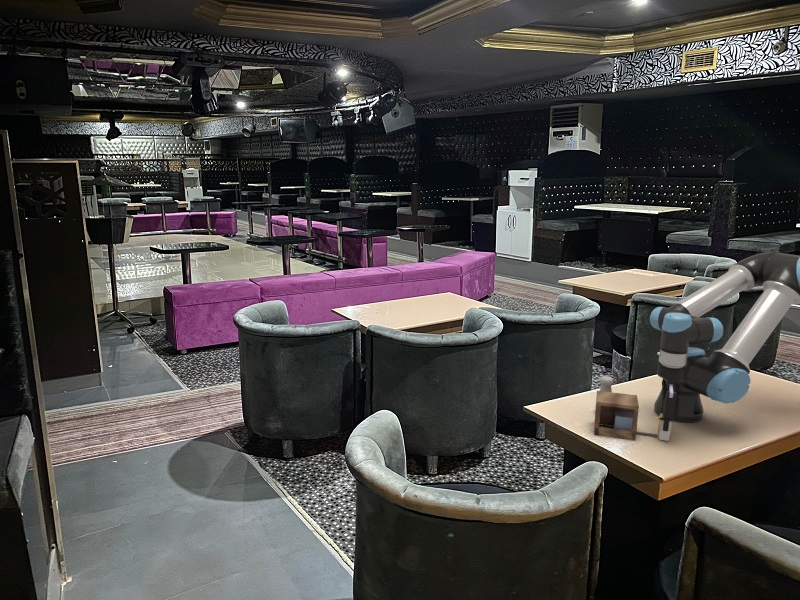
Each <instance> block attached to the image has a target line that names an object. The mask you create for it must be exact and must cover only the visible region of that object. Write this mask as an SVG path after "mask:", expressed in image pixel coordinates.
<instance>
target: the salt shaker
mask: <svg viewBox="0 0 800 600" xmlns="http://www.w3.org/2000/svg"><path fill="white" fill-rule="evenodd" d="M599 384H601V385H600V389H599V391H604V392H613V390H612V389H613V388H612V385H614V378H613V377H611V376H608V375H602V376H601V377H599ZM594 408H596V405H595V406H594Z"/></svg>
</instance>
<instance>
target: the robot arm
mask: <svg viewBox="0 0 800 600" xmlns="http://www.w3.org/2000/svg"><path fill="white" fill-rule="evenodd" d="M756 287H757V288H758V287H762V288H763V292H762V293H761V294H760V296H759V297H758V298H757V300H756V301H755V302H754V304H753V305H752V307H751V308H750V309H749V311H748V313H747V314H746V315H745V317H744V318H743V319H742V321H741V322H740V323H739V325H737V327H736V329H735V331H734V332H733V333H732V335H731V336H730V337H729V338H728V340H727V342H726V343H725V344H724V346H722V348H721V349H716V350H714V351H713V352H712V353H711V355H710V356H709V357H706V352H705V350H704V349H702V348H699V347H694V346H693V347H692V346H691V347H690V346H689V345H697V344H710V343H713V342H718V341H720V339H722V337H723V335H724V326H723V323H722V322H721V321H720V320H719V319H718V318H716V317H709V316H707V317H702V316H703V315H705V314H707V313H708V312H710V311H712V310H713V309H715V308H716V307H718V306H720V305H722V304H723V303H725V302H727V301H728V300H729V299H731V298H733V297H735V296H736V295H737V294H739V293H741V292H743V291H745V292H746V291H750V290H752V289H754V288H756ZM797 304H800V255H799V254H798V255H796V254H790V253H782V252H778V251H776V252H775V251H765V252H760V253H757V254H754V255H751V256H748V257H746V258H744V259H742V260H739V261H738V262H736V263H735V264H733V265H731V266H729V268H728V270H727V272H725V273H724V274H722V275H721V276H719V277H717V278H716V279H714V280H712V281H710V282H708V284H706V285H704V286H702V287H701V288H699V289H697V290H696V291H694V292H692V293H691V294H689V295H687V296H686V297H684V298H682V299H681V300H680V301H678V302H676V303H674V304H673V305H671V306H670V307H666V306H657V307H655V308H654V309H652V311H651V313H650V316H649V322H650V325H651V327H652V328H654V329H655V330H658V331H660V332H661V337H660V338H661V339H660V347H659V351H658V352H657V356H659V357H658V362H659V363H658V364H657V370H656V372H657V373H656V374H657V376H658V377H659V378H662V381H661V390H660V392H659V395H658V396H657V399H655V401H654V408H653V411H654V413H655V414H656V415H658V416H660V415H661V414H663V415H662V418H659V419H658V421H659V420H661V425H660V433H659V438H658V440H661V441H667V442H669V441H670V440H669V434H670V426H671V422H672V423H673V421H675V422H678V423H679V422H681V423H697V422H699V421H700V422H701V421H702V420H703V418H704V408H703V403H702V399H701V396H700V395H702V396H704V397H707V398H709V399H711V401H715V402H719V403H722V404H733V403H736V402H738V401H740V400H741V399H742V398H744V397H745V395H746V394H747V393H748V392H749V389H750V385H751V382H752V381H751V376H750V373H751V368H750V364H751V362H752V361H753V359H754V358H755V357H756V355H757V354H758V352H759V351H760V349H761V348H762V347H763V345H764V344H765V343H766V341H767V340H768V339H769V337H770V336H771V334H772V333H773V332H774V330H775V328H777V326H778V325H779V323H780V321H781V320H782V319H783V317H784V316H785V314H786V313H787V312H788V311H789V309H790V307H792V305H797ZM671 427H672V426H671ZM670 435H671V434H670Z"/></svg>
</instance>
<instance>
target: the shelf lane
mask: <svg viewBox="0 0 800 600" xmlns="http://www.w3.org/2000/svg"><path fill="white" fill-rule="evenodd" d="M595 399H596V401H595V406H596V407H595V410H594V412H595V413H594V421H593V422H594V427H593V428H594V432H593V433H594V436H597V437H598V436H599V437H605V438H613V439H620V440H627V441H628V440H629V441H636V440H637V435H636V431H637V430H638V429H637V428H638V420H639V409H640V407H639V406H640V405H639V401H638V395H637V394H629V393H620V392H613V391H612V392H604V391H600V390H597V391H596V397H595ZM615 410H617V411H625V412H632V416H633V421H632V431H629V430H622V429H614V419H615ZM604 426H605V427H604ZM606 426H607V427H606ZM612 427H613V428H612ZM637 432H638V431H637Z"/></svg>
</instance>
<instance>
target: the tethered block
mask: <svg viewBox="0 0 800 600" xmlns="http://www.w3.org/2000/svg"><path fill="white" fill-rule="evenodd" d="M662 415H663V414H661V415H660V416H659V415H658V416H659V418H662ZM632 421H633V416H632V412H625V411H617V410H615V419H614V426H613V428H614V429H622V430H629V431H632ZM672 424H673V421H672V422H671V426H670V434H669V441H670V439H671V434H672ZM660 425H661V420H659V419H658V426H657V433H650V432H643V431H636V436H644V437H650V438H651V437H653V438H657V439H659V433H660Z"/></svg>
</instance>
